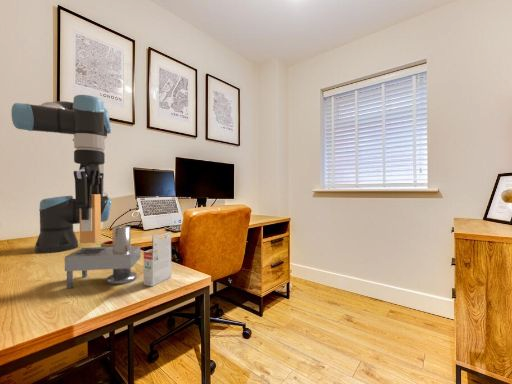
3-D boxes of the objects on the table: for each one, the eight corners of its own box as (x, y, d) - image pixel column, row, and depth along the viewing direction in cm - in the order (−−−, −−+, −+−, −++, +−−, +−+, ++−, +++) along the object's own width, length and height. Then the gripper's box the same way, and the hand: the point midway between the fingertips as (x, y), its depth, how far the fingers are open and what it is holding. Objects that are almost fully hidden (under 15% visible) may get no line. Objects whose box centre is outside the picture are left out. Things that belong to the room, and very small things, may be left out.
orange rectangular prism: (86, 240, 77) (86, 194, 76) (101, 239, 77) (100, 194, 77) (79, 243, 73) (79, 194, 72) (95, 242, 73) (94, 194, 73)
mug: (121, 259, 97) (121, 242, 97) (100, 262, 93) (100, 244, 93) (116, 252, 107) (116, 237, 107) (97, 255, 103) (97, 239, 103)
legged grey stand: (140, 273, 83) (140, 224, 82) (130, 285, 73) (130, 230, 72) (83, 276, 80) (82, 225, 79) (65, 289, 70) (64, 231, 69)
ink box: (142, 285, 73) (142, 235, 72) (162, 275, 80) (162, 230, 80) (152, 287, 72) (152, 236, 71) (171, 277, 79) (171, 231, 78)
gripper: (89, 153, 82) (90, 225, 83) (57, 145, 65) (59, 235, 66) (114, 154, 83) (115, 224, 84) (89, 146, 66) (91, 234, 67)
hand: (90, 229), depth 75 cm, fingers closed on orange rectangular prism, 4 cm apart
